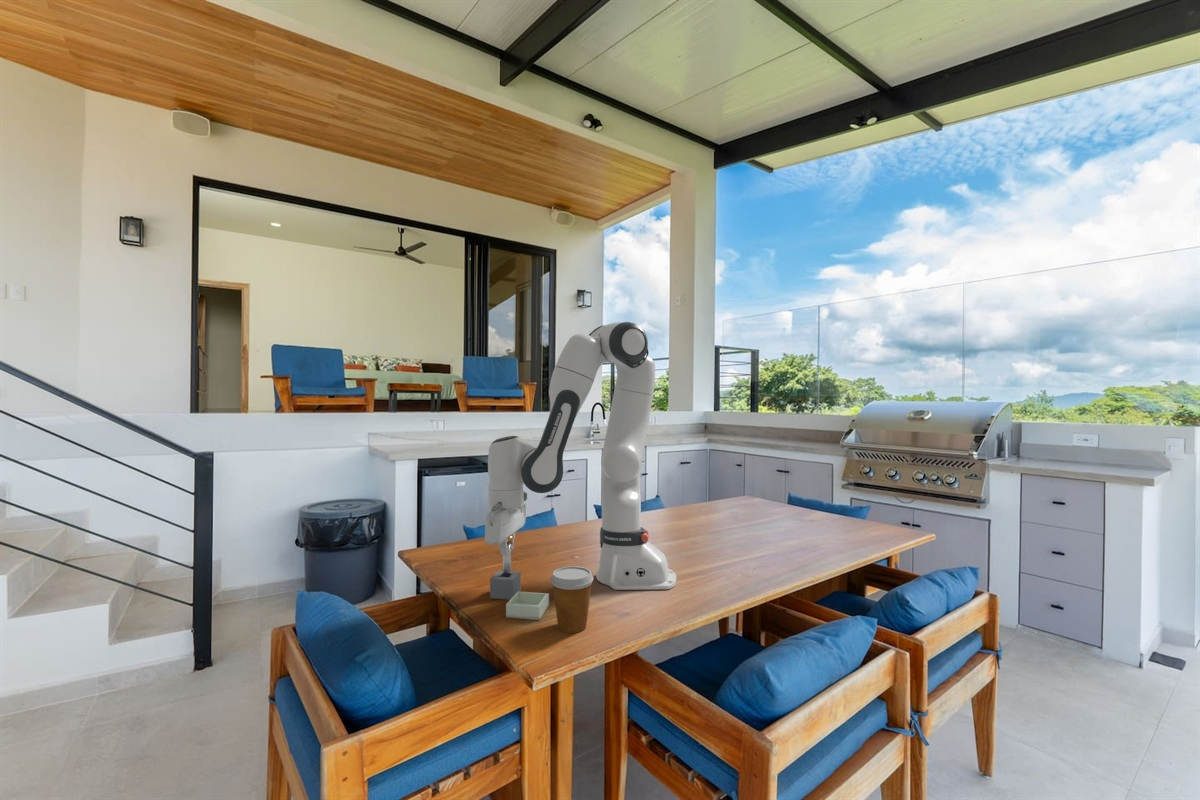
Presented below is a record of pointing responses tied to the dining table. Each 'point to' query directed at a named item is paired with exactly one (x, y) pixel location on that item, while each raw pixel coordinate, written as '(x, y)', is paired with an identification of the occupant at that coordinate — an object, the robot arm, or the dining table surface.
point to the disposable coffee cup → (572, 597)
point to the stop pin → (507, 559)
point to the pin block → (505, 585)
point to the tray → (527, 605)
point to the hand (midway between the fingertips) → (506, 552)
